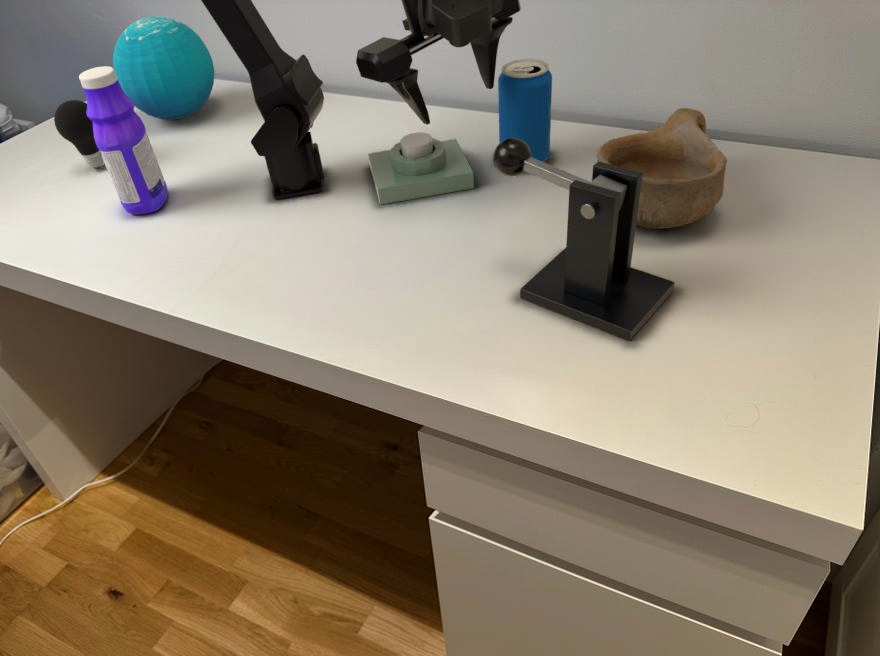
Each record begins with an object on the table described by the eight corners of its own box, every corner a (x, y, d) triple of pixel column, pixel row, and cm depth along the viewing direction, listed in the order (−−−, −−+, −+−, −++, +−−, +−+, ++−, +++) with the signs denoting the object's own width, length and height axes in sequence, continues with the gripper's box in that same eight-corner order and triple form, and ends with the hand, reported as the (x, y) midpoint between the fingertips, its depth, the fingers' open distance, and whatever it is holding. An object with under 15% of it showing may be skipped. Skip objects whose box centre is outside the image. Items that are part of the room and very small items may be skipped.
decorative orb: (243, 100, 117) (217, 3, 107) (190, 139, 108) (156, 37, 97) (171, 94, 122) (140, 2, 112) (114, 132, 113) (75, 34, 103)
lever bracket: (519, 298, 71) (519, 183, 62) (566, 255, 75) (573, 142, 67) (629, 341, 64) (646, 220, 56) (673, 291, 69) (695, 172, 60)
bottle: (133, 193, 96) (79, 64, 84) (174, 187, 96) (126, 58, 84) (121, 220, 91) (62, 87, 79) (164, 215, 91) (111, 80, 79)
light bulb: (68, 175, 102) (37, 109, 96) (96, 157, 106) (67, 92, 99) (99, 179, 100) (69, 112, 94) (126, 160, 104) (99, 94, 97)
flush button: (404, 162, 87) (403, 148, 86) (399, 148, 90) (398, 135, 89) (436, 156, 87) (434, 143, 86) (430, 142, 90) (428, 130, 89)
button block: (380, 204, 87) (375, 175, 84) (370, 168, 95) (365, 140, 92) (474, 188, 88) (472, 158, 85) (457, 153, 95) (455, 125, 93)
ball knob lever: (484, 174, 68) (487, 141, 65) (505, 159, 70) (509, 126, 67) (604, 228, 62) (613, 194, 60) (624, 210, 64) (633, 176, 61)
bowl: (597, 152, 89) (628, 76, 81) (705, 190, 87) (746, 116, 79) (567, 224, 77) (600, 143, 69) (691, 270, 75) (738, 192, 68)
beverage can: (547, 171, 89) (550, 77, 81) (497, 171, 90) (494, 78, 82) (550, 148, 94) (554, 56, 86) (502, 148, 95) (501, 57, 87)
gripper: (379, 3, 64) (429, 157, 74) (537, -76, 68) (564, 79, 78) (330, -2, 73) (381, 137, 82) (473, -73, 77) (505, 67, 86)
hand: (458, 105), depth 82 cm, fingers open, 9 cm apart
